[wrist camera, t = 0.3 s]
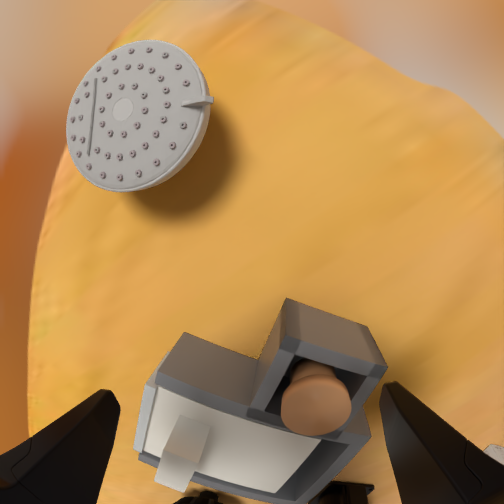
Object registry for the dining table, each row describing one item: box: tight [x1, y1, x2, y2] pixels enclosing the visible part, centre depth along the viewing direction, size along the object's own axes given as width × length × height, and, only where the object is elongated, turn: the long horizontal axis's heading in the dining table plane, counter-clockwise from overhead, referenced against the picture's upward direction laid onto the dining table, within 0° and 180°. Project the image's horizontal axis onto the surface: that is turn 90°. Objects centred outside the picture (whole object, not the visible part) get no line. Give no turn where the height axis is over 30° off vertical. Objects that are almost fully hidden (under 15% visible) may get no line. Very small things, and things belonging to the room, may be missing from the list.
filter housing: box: [138, 298, 388, 504], centre depth 22 cm, size 18×16×6 cm
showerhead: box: [66, 40, 214, 192], centre depth 17 cm, size 9×7×10 cm
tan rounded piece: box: [281, 357, 351, 436], centre depth 18 cm, size 4×4×4 cm
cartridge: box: [133, 352, 321, 493], centre depth 20 cm, size 9×13×8 cm
